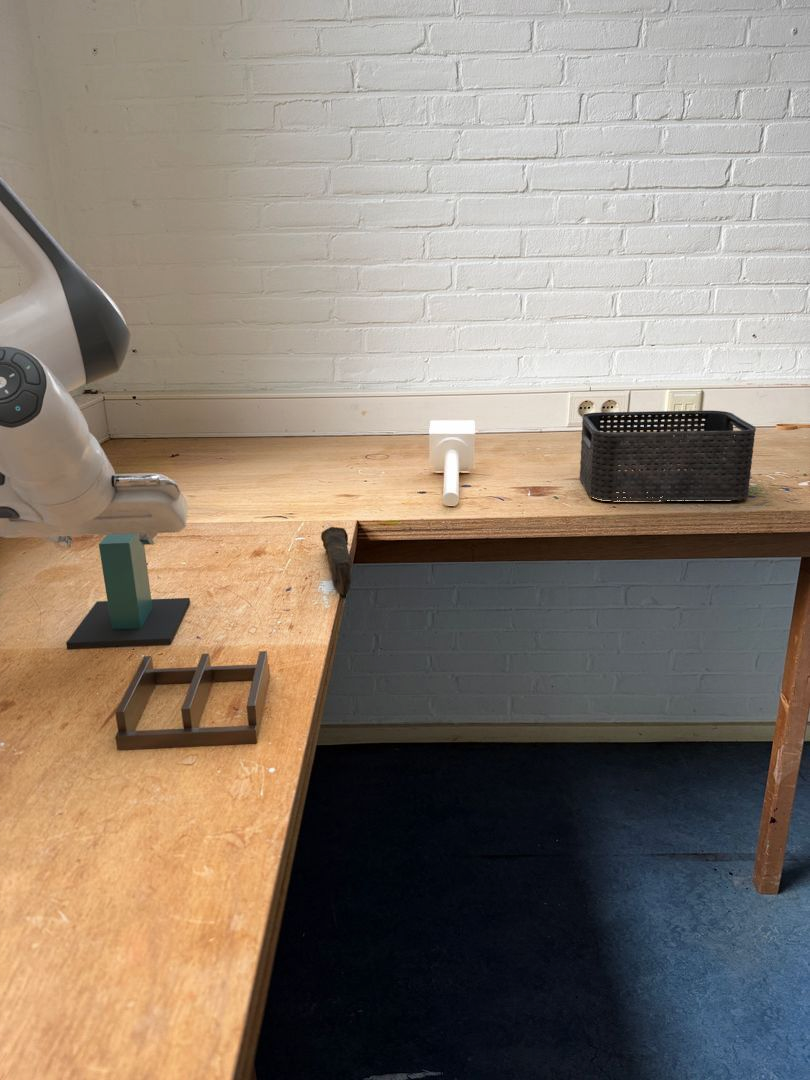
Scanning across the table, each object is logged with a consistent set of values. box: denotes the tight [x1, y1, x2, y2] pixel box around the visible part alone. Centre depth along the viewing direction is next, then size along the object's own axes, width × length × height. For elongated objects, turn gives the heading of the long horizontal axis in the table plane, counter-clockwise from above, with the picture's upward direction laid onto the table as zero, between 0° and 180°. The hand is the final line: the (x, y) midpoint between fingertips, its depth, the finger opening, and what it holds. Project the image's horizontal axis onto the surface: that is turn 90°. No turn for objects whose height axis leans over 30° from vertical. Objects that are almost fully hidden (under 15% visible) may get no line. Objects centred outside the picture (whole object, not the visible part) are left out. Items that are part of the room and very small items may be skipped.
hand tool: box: [320, 526, 352, 596], centre depth 114 cm, size 19×4×5 cm, turn 6°
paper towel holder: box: [428, 420, 476, 506], centre depth 157 cm, size 9×9×32 cm
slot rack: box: [114, 650, 271, 751], centre depth 79 cm, size 13×13×4 cm
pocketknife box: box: [98, 534, 153, 630], centre depth 97 cm, size 4×6×11 cm, turn 4°
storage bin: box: [579, 410, 757, 501], centre depth 150 cm, size 29×19×13 cm
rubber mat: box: [65, 597, 191, 650], centre depth 99 cm, size 12×12×1 cm
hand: (108, 540), depth 91 cm, fingers open, 8 cm apart
